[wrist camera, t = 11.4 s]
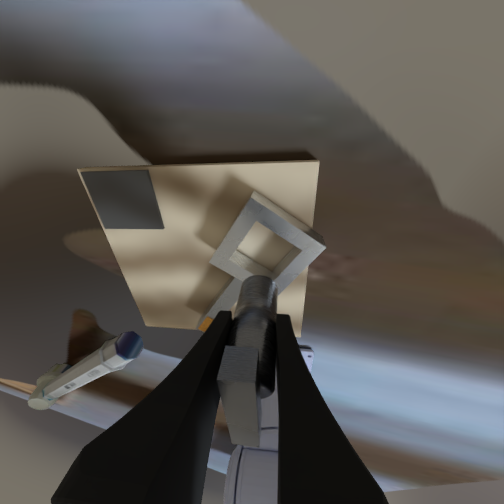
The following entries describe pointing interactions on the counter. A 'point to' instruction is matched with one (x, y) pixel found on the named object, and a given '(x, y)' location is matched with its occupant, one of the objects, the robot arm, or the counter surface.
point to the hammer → (249, 360)
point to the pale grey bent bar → (85, 369)
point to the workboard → (196, 229)
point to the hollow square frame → (243, 267)
